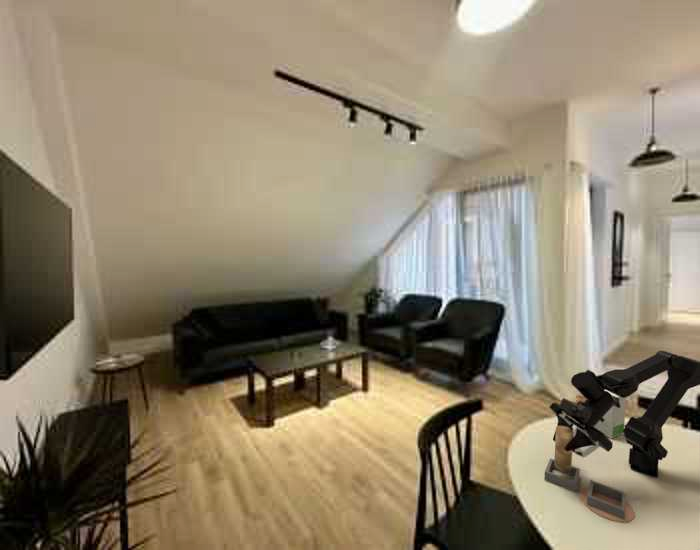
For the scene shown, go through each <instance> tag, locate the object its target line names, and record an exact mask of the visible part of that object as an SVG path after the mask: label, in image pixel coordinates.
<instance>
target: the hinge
mask: <svg viewBox="0 0 700 550" xmlns="http://www.w3.org/2000/svg"><path fill="white" fill-rule="evenodd" d="M570 426H571V427H572V428H573V437H574V436H575V435H576V430H577V428H578V427H577V426H575V425H574V424H572V423H571V424H570ZM594 427H595V428H596V429H598V430H599V431H600V429H599V427H598V424H596V425H595V426H594ZM578 429H579V430H581V429H580V428H578ZM581 431H583V430H581ZM595 444H596V445H597V446H594V445H591V446H586V447H581V448H578V449H574V450H573V451H574V452H576V453H581V455H582V457H583V458H586V457H587V456H589V455H590V454H591V453H593V452H595V451H596V450H597V449H599V448H601V447H600V446H599V443H598V441H597V442H596V443H595ZM598 447H599V448H598Z"/></svg>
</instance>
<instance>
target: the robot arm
mask: <svg viewBox="0 0 700 550" xmlns="http://www.w3.org/2000/svg"><path fill="white" fill-rule="evenodd" d="M664 372H667V379H666V381H665V383H664V384H663V386H662V387H661V389H660V390H658V391H659V392H658V393H657V394H656V395H655V397H654V398H653V400H652V402H650V404H649V406H648V407H647V408H646V410H645V412H644V413H643V415H641V416H639V417H634V416H631V417H629V419H628V421H627V422H626V423H625V424H624V430H623V433H624V434H623V435H624V438H625V442H626V444H628V445H630V446H631V447H629V452H628V453H629V454H628V464H629V465H630V467H629V469H631V470H632V471H635V472H638V473H642V474H644V475H647V476H651V477H653V478H659V461H663V459H666V457H667V455H668V453H669V451H668V450H667V449H666V448H665V447H664V445H662V441H663V439H664V437H663V429H662V428H663V427H664V425H665V423H666V422H667V420H668V419H669V418H670V416H671V415H672V414H673V412H674V410H675V409H676V407H677V406H678V405H679V403H680V402H681V400H682V399H683V398H684V396H685V394H686V393H687V392H688V390H689V389H692V388H695V387H697V386H700V360H696V359H693V358H690V357H687V356H684V355H678V354H675V353H673V352H669V351H666V350H658V351H656V353H655V354H654V355H652V356H650V357H648V358H646V359H644V360H642V361H639V362H638V363H636V364H634V365H632V366H629V367H628V368H627V367H626V368H622V369H621V368H619V369H616V368H615V369H613V370H609V371H606V372H604V373H603V374H599V375H596V373H595V372H593V371H592V370H590V369H587V370H586V371H585V372H584V371H581V372H578V373H576V374H573V376H572V377H571V379H570V382H571V383H570V384H571V385H572V386H573V388H575V389H576V390H577V392H579V394H580V395H582V397H584V398H585V400H584V401H582V400H579V401H578V402H574V401H572V400H569V399H567V398H565V397H563V398H562V400H561V401H560V404H559V402H553V403H551V404H550V405H549V406H548V408H549V409H550V410H551V411H552V412H553V413H554V414H555V416H556V417H557V418H556V419H557V425H556V427H557V426H566V427H569V428H570V429H572V430H573V428H572V427H571V426H570V424H571V423H572V424H574V425H575V426H577V427H578V428H580V429H581V430H583V431H581V430H579V429H578V428H577V430H576V435H575V436H574V437H573V438H572V440H571V441H570V442H569V443H568V444H567V445H566V447H565V450H566V451H571V450H572V451H575V450H574V449H578V448H581V447H586V446H591V445H594V446H597V445H596V444H595V443H596V442H597V441H598V443H599V446H600V447H599V448H602V449H603V450H605V452H608V453H609V452H610V451H611V450H612V449H613V447H614V446H613V444H614V442H613V441H611V438H609V437H607V436H606V435H605V434H604V433H602V432H601V431H599V430H598V429H596V428H595V427H594V426H595V425H596V424H597V423H598V422H599V421H601V422H604V421H605V420H604V419H603V416H604V415H605V414H606V413H607V412H608V411H609V410H610V409H611V408H612V406H613V405H614V406H616V407H617V408H620V403H619V398H617V397H615V396H612V395H611V394H610V393H609V392H611V393H613V394H616V395H618V396H620V397H623V398H626V399H627V398H628V397H630V396H631V395H633V394H634V393H636V392H637V391H638V390H639V386H640V385H641V384H642V383H644V382H646V381H648V380H650V379H652V378H654V377H656V376H659V375H661V374H662V373H664ZM605 389H606V390H607V391H609V392H607V391H604V390H605ZM555 439H556V430H555V432H554V435H553V438H552V440H553V442H555Z"/></svg>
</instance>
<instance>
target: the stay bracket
mask: <svg viewBox="0 0 700 550" xmlns="http://www.w3.org/2000/svg"><path fill="white" fill-rule="evenodd" d="M579 498H580V500H581V502H582V503H583V505H584V506H585V507H587V508H588V509H589V510H590V511H591V512H592V513H594V514H596V515H598V516H600V517H602V518H604V519H606V520H610V521H613V522H616V523H628V522H629V523H630V522H631V521H632V520H634V519H635V510H634V508H633V507H632V505H631V504H630V502H628V501H627V493H626V492H624V491H622V490H619V489H616V488H614V487H611V486H609V485H606V484H604V483H603V484H602V483H600V482H598V481H594V480H592V479H590V481H589V486H586V487H583V488H581V490H580V491H579Z"/></svg>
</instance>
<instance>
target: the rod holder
mask: <svg viewBox="0 0 700 550" xmlns="http://www.w3.org/2000/svg"><path fill="white" fill-rule="evenodd" d="M552 469H553V470H557V471H560V472H562V473H565V474H568V475H570V476H573V480H572V479H569V478H566V477H564V476H561V475H559V474H556V473H554V472H552ZM580 474H581V469H580V468H579V467H576V466H572V465H571V471H569V472H565V471H561V470H559V469H557V468H556V467H555V466H554V459H553V458H549V460H548V463H547V465H546V468H545V470H544V480H546V481H548V482H551V483H553V484H555V485H558V486H560V487H564V488H565V489H569V490H571V491H573V492H576V493H577V489H578V484H579V481H580V477H581V476H580Z"/></svg>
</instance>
